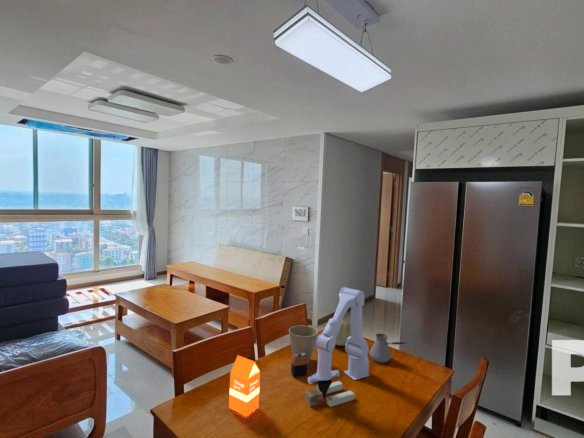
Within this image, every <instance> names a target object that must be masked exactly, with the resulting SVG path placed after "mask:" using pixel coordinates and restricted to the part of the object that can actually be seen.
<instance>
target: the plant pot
mask: <svg viewBox="0 0 584 438" xmlns="http://www.w3.org/2000/svg"><path fill="white" fill-rule="evenodd" d="M318 333H319V332H318V329H317V328H315V327H313V326H309V325H300V324H299V325H295V326H291V327H290V328H289V329H288V336H289V343H290V347H291V348H290V349H291V352H292V355H294V354H301V353H305V354H306V356H307V357H308V364H309V363H310V362H311V358H312V356H313V353H314V351H315V347H316V339H317V337H318Z"/></svg>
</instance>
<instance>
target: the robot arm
mask: <svg viewBox="0 0 584 438" xmlns="http://www.w3.org/2000/svg"><path fill="white" fill-rule="evenodd" d="M338 300H339V302H338V305H337V307H336V310H335V312H334V315H333V316H332V317H331V318H329V319H328V322H327V323H326V325H325V327H324V329H323V331H322V333H320V334H319V335H317V339H316V344H315V347H316V351H317V369H316V373H314V374H313V375H310V376H308V377H307V383H308V384H309V385H312V384H313V383H315V382H316V384H317V385H318V387H319V390H320V391H321V392H322V393H323V398H322V399H324V398H327V391H328V389H329V387H330V385H331V384H332V383H333V380H331V379H333V378H335V377H337V378H339V377H340V372H341V371H339V370H338V369H334V370H332V360H333V351H334V349H335V347H336V345H335V344H336V336H337V334H338V332H339V330H340V328H341V323H340V322H341V320H342V318H343V319H344V316H345V315H346V314H347V311H348V310H349V308H350V325H351V336H350V337H348V338H347V341H346V345H345V347H344V350H345V352H346V353H347V356H348V365H347V366H348V367H347V368H348V369H347V370H344V371H343V372H344V374H345V375H347V376H348V377H350V378H351V379H352V380H354V381H356V380H360V379H365V378H368V377H370V373H369V370H370V369H369V368H370V361H369V357H368V355H369V352H370V350H369V346H368V345H369V344H368V341H367V340H366V339H365V338H364V337H363V306H365V293H364V291H362V290H359V289H354V288H349V287H346V286H343V287H341V289H340V291H339V293H338Z"/></svg>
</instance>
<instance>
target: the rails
mask: <svg viewBox="0 0 584 438" xmlns="http://www.w3.org/2000/svg"><path fill="white" fill-rule="evenodd" d="M316 388H318V389H319V387H318V384H317V385H316V387H315V389H316ZM340 390H343V383H342V382H341V381H340V380H337V381H334V382H333V381H332V384H331V385H330V387H329V389H328V391H327V394H330V393H334V392H337V391H338V392H339V391H340ZM327 394H326V405H328V407H329V408H330V407H331V408H332V407H334V406H337V405H340V404H344V403H347V402H349V401H354V400H355V393H354V392H353V391H351V390H348V391H344V392H341V393H337V394H334V395H327Z"/></svg>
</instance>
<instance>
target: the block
mask: <svg viewBox="0 0 584 438" xmlns="http://www.w3.org/2000/svg"><path fill="white" fill-rule="evenodd" d="M323 399H324V398H323V393H322V392H321V391H320V390H319V389H318V388H316V387H315V388H313V389H309V390H306V391H304V402H305V404H307V405H308V406H309V408H311V407H313V406H317V405H320V404H323Z"/></svg>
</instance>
